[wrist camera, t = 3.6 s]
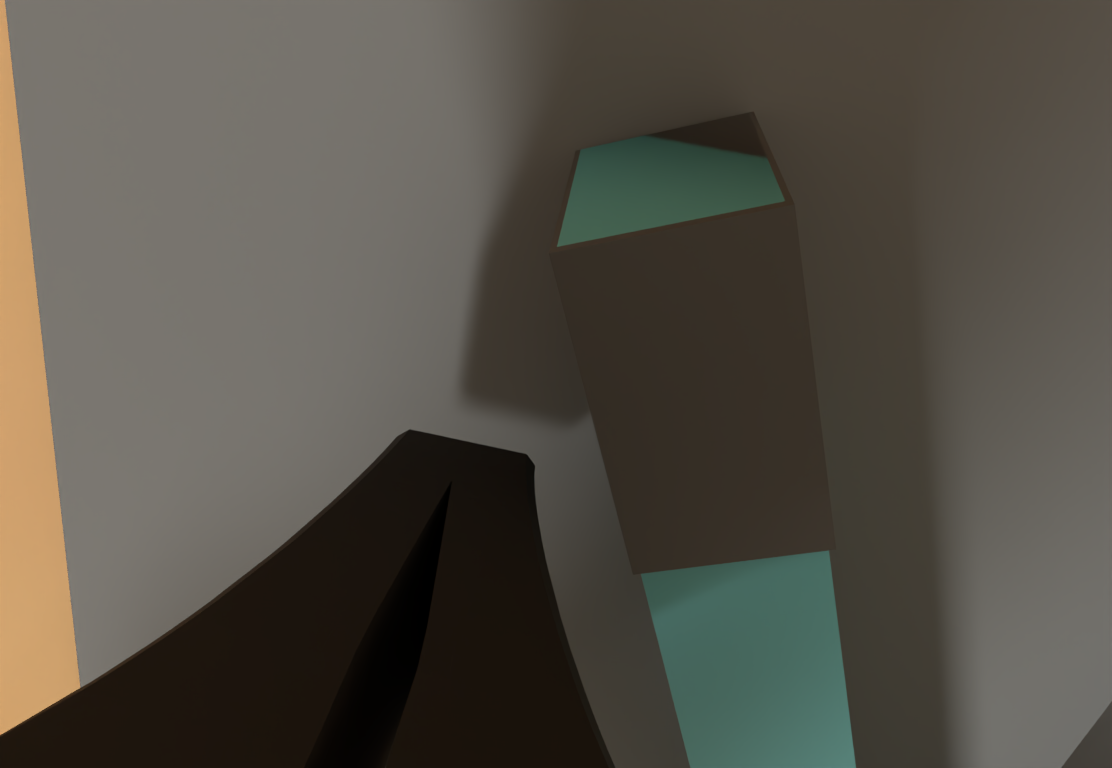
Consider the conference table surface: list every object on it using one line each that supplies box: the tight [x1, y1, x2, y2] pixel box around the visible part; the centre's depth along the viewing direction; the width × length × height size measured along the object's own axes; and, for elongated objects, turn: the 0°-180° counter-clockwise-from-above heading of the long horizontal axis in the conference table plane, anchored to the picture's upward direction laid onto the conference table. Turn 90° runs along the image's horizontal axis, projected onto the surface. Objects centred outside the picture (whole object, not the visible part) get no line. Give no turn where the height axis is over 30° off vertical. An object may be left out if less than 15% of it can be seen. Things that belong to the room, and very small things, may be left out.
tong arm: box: [549, 111, 856, 768], centre depth 11 cm, size 14×2×3 cm, turn 14°
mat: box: [5, 0, 1112, 768], centre depth 12 cm, size 22×18×1 cm
